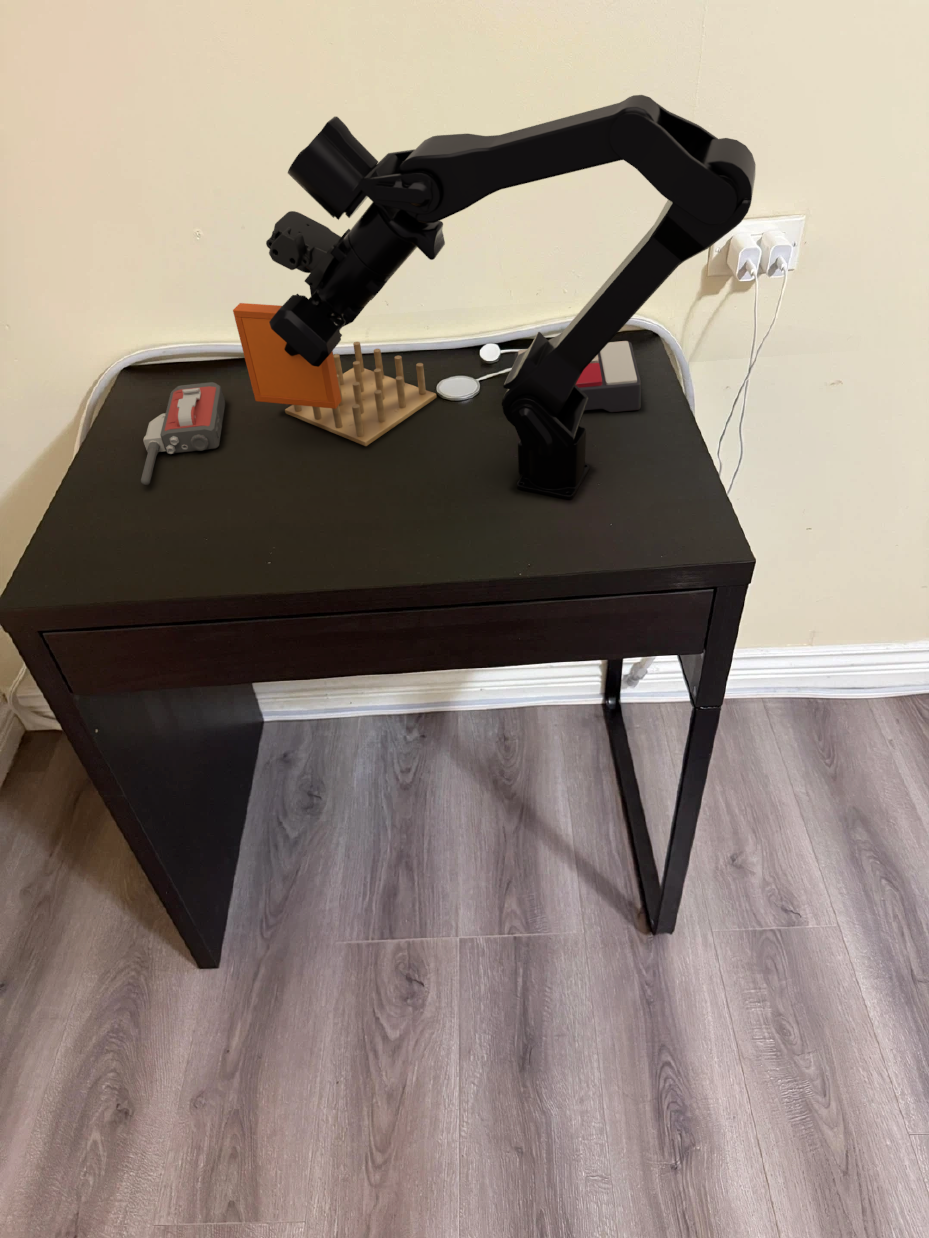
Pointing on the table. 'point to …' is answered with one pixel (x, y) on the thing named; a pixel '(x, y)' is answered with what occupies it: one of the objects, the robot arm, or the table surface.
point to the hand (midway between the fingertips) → (292, 348)
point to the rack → (368, 400)
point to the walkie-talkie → (185, 423)
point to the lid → (282, 364)
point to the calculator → (611, 379)
